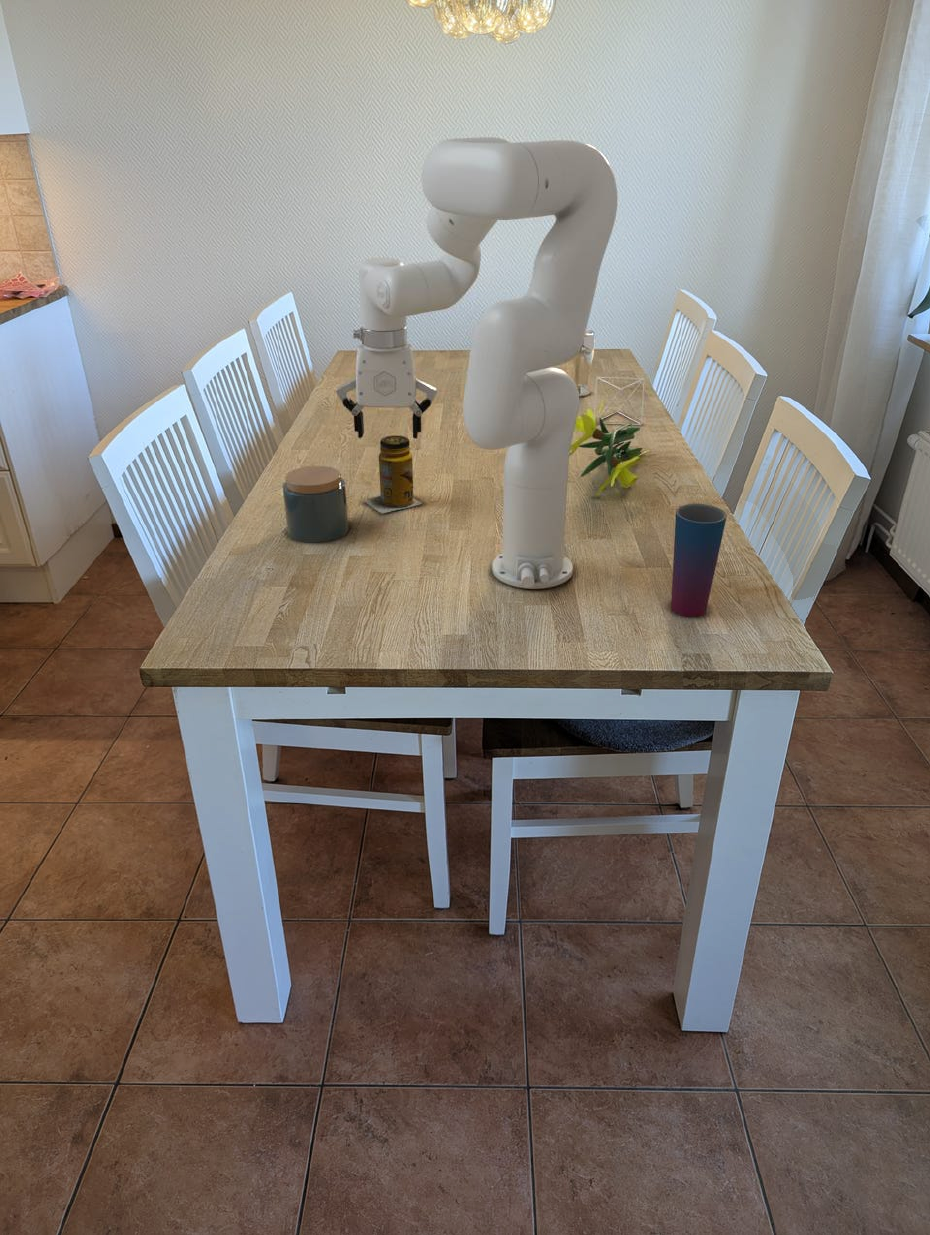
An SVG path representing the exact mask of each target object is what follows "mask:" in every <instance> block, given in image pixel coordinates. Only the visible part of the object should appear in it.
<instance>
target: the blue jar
mask: <svg viewBox="0 0 930 1235" xmlns="http://www.w3.org/2000/svg"><path fill="white" fill-rule="evenodd" d="M284 478H285V479H284V480H285V482H284V483H282V494H283V503H284V513H285V521H286V531H287V535H288V536H289V537H290V538H291V539H293V540H294V541H298V542H302V543H309V544H311V543H313V544H314V543H316V544H318V543H326V542H331V541H335V540H337V539H340V538H342V537H344V536H345V535H346V534H347V533H348V531H349V518H348V516H349V515H348V505H347V502H348V501H347V491H346V489H347V488H346V481H345V480H344V479H343V477H342V473H341V471H340V470H338V469H337V468H335V467H332V466H327V465H308V466H302V467H297V468H295V469H292V470H290V471H289V472H287V473H286V474H285V476H284Z"/></svg>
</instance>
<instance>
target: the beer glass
mask: <svg viewBox="0 0 930 1235" xmlns="http://www.w3.org/2000/svg"><path fill="white" fill-rule="evenodd" d="M594 354H595V331H594V330H591V329H586V332H585V336H584V340H583V344H582V346H581V349H580V351H579V353H578V354H577V356H576V357H574V358H573V359H572V360H570V361H568V362H566V363H565V366H566V373H567V374H568V375H569V376H570V377H571V378H572V379H573V381H574V383H575V384H576V387H577V390H578V394H579V397H587V396H589V395H590V392H591V391H590V382H589V381H590V373H591V369H592V365H593V360H594V356H595V355H594Z"/></svg>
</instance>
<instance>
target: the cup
mask: <svg viewBox="0 0 930 1235" xmlns="http://www.w3.org/2000/svg"><path fill="white" fill-rule="evenodd" d="M727 517H728V515H727V513H726V511H725V510H723V509H722V508H721V507H717V506H714V505H711V504H706V503H688V504H683V505H681V506H678V507H677V508H676V510H675V523H674V525H675V526H674V542H673V561H672V580H671V601H670V609H671V610H672V612H674V613H675V614H676V615H679V616H682V617H688V618H695V617H700V616H703V615H704V614H705V613H706V612H707V608H708V605H709V599H710V595H711V590H712V585H713V581H714V576H715V574H716V573H715V571H716V569H717V563H718V558H719V555H720V549H721V546H722V540H723V535H724V531H725V527H726V522H727Z"/></svg>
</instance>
